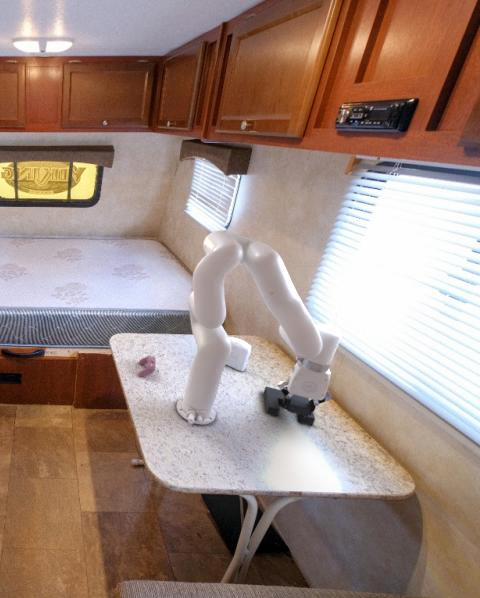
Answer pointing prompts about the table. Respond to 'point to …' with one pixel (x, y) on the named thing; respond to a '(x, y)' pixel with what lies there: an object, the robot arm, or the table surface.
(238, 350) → the photo printer
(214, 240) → the robot arm
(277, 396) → the base pad
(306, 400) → the pad
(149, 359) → the video game controller
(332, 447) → the table surface
